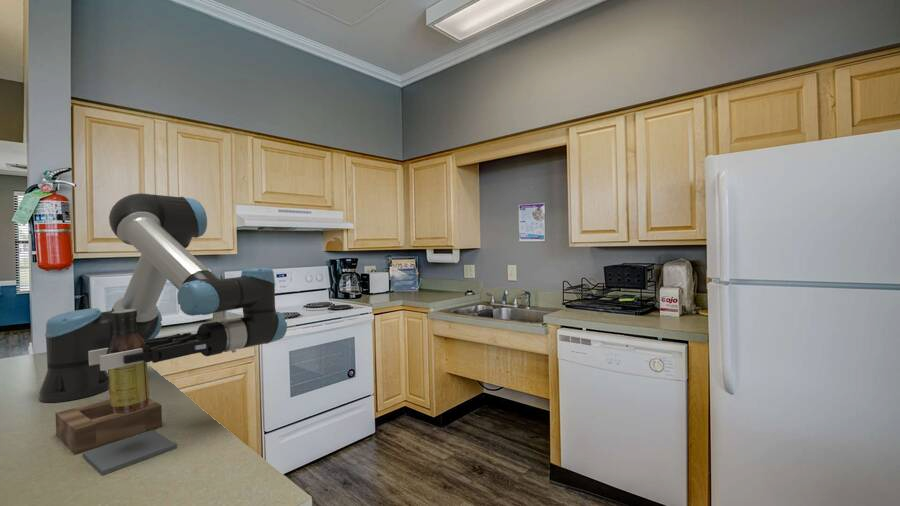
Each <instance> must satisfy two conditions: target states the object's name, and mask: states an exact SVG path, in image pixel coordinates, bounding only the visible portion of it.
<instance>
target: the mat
mask: <svg viewBox="0 0 900 506" xmlns="http://www.w3.org/2000/svg"><path fill="white" fill-rule="evenodd" d="M177 448H178V444H177V443H176V442H175V441H172V440H171V439H170V438H168V437H166V436H165V435H163V434H161V433H160V432H158V431H156V430H155V429H152V430H149V431H146V432H143V433H140V434H137V435H134V436H131V437H128V438H125V439H122V440H118V441H115V442H112V443H109V444H106V445H103V446H100V447H97V448H94V449H91V450H88V451H84V452H82V458H83V459H84V460H86V462H88V464H89V465H91V467H93V468H94V469H95V470H96V471H97V472H98V473H99V474H100V475H101V476H104V475H105V476H106V475H107V474H110V473H113V472H116V471H118V470H121V469H123V468H126V467H129V466H131V465H134V464H137V463H139V462H143V461H145V460H148V459H151V458H153V457H156V456H158V455H161V454H165V453H166V452H169V451H172V450H176V449H177Z"/></svg>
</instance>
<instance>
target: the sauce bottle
mask: <svg viewBox="0 0 900 506" xmlns="http://www.w3.org/2000/svg"><path fill="white" fill-rule="evenodd" d="M136 317H137V310H136V309H127V310H119V311H113V312H112V313H111V319H112V321H113V336H112V339H111V342H110V345H109V348H108V351H107V354H113V353H118V352H124V351H129V350H134V349H140V348H142V349H143V352H144V345H145V342H144V340H143V338H142V337H141V336H140V335H139V334H138V333H137V323H136ZM107 354H106V355H107ZM107 373H108V383H109V389H108V394H109V396H108V397H109V399H110V405H111V410H112V412H113V413H127V412H134V411H137V410H139V409H141V408H144V407H146V406H147V405H148V404H149V399H150V398H149V397H150V388H149V387H150V386H149V385H150V384H149V371H148V362H145V360H143V363H138V364H133V365H128V366H123V367H118V368H114V369H109V370H107Z"/></svg>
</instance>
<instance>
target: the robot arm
mask: <svg viewBox="0 0 900 506" xmlns="http://www.w3.org/2000/svg"><path fill="white" fill-rule="evenodd" d="M108 220H109V226H110V229H111V232H113V234H114V235H115V237H117V238H118V239H119V240H120V241H121V242H122V243H123V244H125V245H129V246H132V247H134V248H135V249H136V250H137V251H138V252H139V253H140V256H139V259H138V261H137V263H136V266H135V268H134V271H133V272H132V273H133V274H132V276H131V278H130V280H129V283H128V286H127V288H126V290H125V293H124V295H123V297H122V298H119V299H117V300H116V301H115V302H114V304H113V306H112V309H111V310H108V311H101V310H100V309H99V308H93V307H92V308H84V309H78V310H73V311H68V312H64V313H60V314H56V315H54V316H52V317H50V318H49V319H48V320H47V321H46V324H45V333H44V336H45V343H46V364H47V365H46V366H47V371H46V374H45V376H44V379H43V382H42V384H41V387H40V389H39V401H40V402H42V403H59V402H68V401H74V400H79V399H83V398H88V397H92V396H95V395H98V394H100V393H103V392H106V391H107V390H109V383H108V370H109V369H114V368H118V367H123V366H128V365H133V364H138V363H143V360H145V362H147V363H150V362H152V363H154V364H156V363H158V362H159V363H160V362H164V361H168V360H172V359H177V358H182V357H187V356H190V355H197V354H201V355H203V357H204V356H205V357H211V356H215V355H219V354H222V353H223V352H224V353H227V352H231V353H232V354H234V353H236V352H237V350H241V349H245V348H251V347H256V346H259V345H265V344H266V345H268V344H270V343H273V342H276V341H280V340H281V339H284V337H285V336H286V333H287V332H288V322H286V317H285V315H284V314H283V313H282V312H280V311H277V310H276V293H275V292H276V289H275V288H276V282H275V280H276V279H275V275H274V270H273V269H272V268H270V267H254V268H252V267H251V268H250V267H249V268H244V269H242V270H241V275H240V276H237V277H228V278H219V277H217V275H215V274H214V273H213V272H211V271H210V270H209V269H208V267H207V266H205V264H203V263H202V262H201V261H200V260H199V259H197V258H196V257H195V256H194V255H193V254H192V253H191V252H190V251H189V250H188V249H187V248H188V247H189V245H190V244H191V242H192V240H193V238H194V239H197V238H200V237H202V236H203V235H205V233H206V232H207V228H208V217H207V213H206V209H205V207H204V206H203V204H201V202H200V201H199V200H197V199H195V198H189V197H184V196H174V195H173V196H171V195H163V194H162V195H161V194H149V193H144V192H143V193H133V194H132V193H131V194H128V195H126V196H123V197H122V198H120V199H119V200H118V201H116V203H115V204H114V205H113V206H112V208H111V209H110V213H109V215H108ZM167 281H168V282H170V284H172V285H173V287H175V288H176V289H177V290H178V292H177V296H176V297H177V304H178V305H179V309H180V311H182V313H183V314H185V315H187V316H192V317H193V316H200V315H202V316H206V315H210V314H215V313H217V314H218V313H223V312H226V311H227V312H228V311H231V310H239V309H242V314H243V315H242V316H241V317H234V318H229V319H223V320H219V321H212V322H205V323H202V324H200V325H199V327H198V329H197V331H196V333H192V332H185V333H176V334H172V335H167V336H159V333H160V332H161V330H162V326H163V323H162V321H163V317H162V313H161V311H160V310H159V307H158V305H157V303H158V301H159V299H160V296H161V295H162V292H163V290H164V288H165V285H166V283H167ZM127 309H136V310H137V317H136V323H137V333H138V334H139V335H140V336H141V337H142V338H143V340H144V342H145V345H144V352H143V349H142V348H140V349H134V350H129V351H124V352H118V353H113V354H107V351H108V348H109V345H110V342H111V339H112V336H113V321H112V319H111V313H112V312H113V311H119V310H127ZM157 336H159V337H157ZM106 354H107V355H106Z"/></svg>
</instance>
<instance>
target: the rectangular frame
mask: <svg viewBox="0 0 900 506" xmlns="http://www.w3.org/2000/svg"><path fill="white" fill-rule="evenodd" d="M161 426H162V427H163V415H162V404H161V403H159V402H156V401H155V400H153V399H151V398H149V404H148V405H147V406H146V407H144V408H141V409H139V410H137V411H134V412H127V413H113V412H112V410H111V405H110V398H109V399H105V400H102V401H97V402H93V403H90V404H86V405H83V406H78V407H74V408H70V409H66V410H61V411H59V412H58V411H57V412H55V436H56V437H57V438H58V439H59V440H61V441H62V443H63V444H64V445H66V447H67V448H68V449H70V450H71V451H72V452H73V453H74V454H75V455H78V454H82V453H83V452H86V451H89V450H93V449H96V448H99V447H102V446H105V445H108V444H111V443H114V442H117V441H120V440H123V439H126V438H129V437H133V436H136V435H139V434H142V433H145V432H148V431H151V430H155V428H156V429H158V427H159V428H161Z"/></svg>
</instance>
